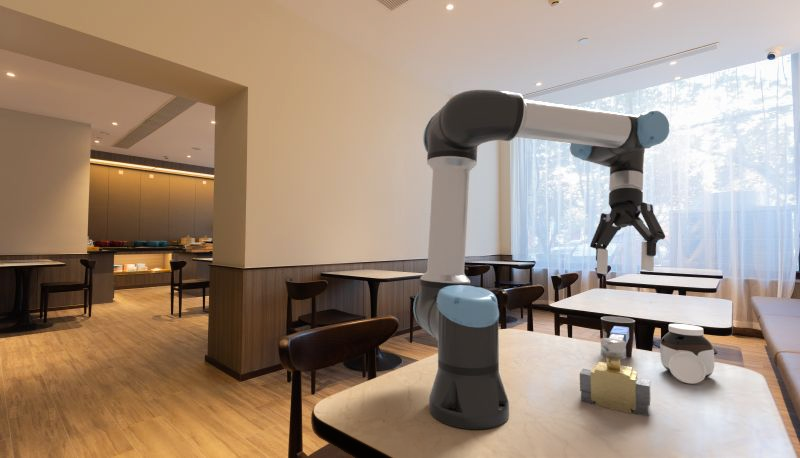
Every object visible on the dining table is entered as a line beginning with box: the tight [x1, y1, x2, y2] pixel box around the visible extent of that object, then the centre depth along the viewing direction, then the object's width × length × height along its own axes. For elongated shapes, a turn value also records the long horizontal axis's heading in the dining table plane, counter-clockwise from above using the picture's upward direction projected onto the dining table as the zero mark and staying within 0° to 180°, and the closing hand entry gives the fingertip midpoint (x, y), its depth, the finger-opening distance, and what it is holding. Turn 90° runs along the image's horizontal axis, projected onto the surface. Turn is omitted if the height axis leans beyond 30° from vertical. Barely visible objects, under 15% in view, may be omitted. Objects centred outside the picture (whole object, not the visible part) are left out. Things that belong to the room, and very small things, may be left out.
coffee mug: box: [600, 316, 636, 358], centre depth 108 cm, size 12×9×10 cm
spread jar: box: [659, 323, 715, 385], centre depth 89 cm, size 12×11×12 cm
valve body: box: [579, 357, 652, 417], centre depth 75 cm, size 12×6×9 cm, turn 54°
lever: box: [600, 326, 629, 360], centre depth 81 cm, size 4×19×3 cm, turn 144°
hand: (622, 272), depth 92 cm, fingers open, 13 cm apart
